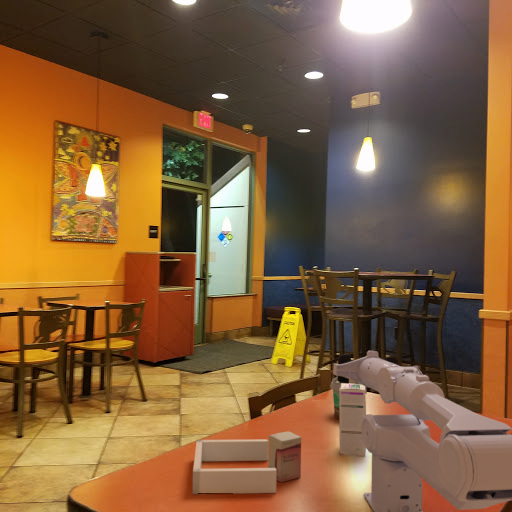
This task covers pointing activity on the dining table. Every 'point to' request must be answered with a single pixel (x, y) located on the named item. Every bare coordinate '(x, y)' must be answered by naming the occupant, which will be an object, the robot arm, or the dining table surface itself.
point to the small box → (285, 455)
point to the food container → (337, 396)
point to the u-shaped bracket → (232, 477)
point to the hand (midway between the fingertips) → (356, 365)
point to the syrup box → (352, 419)
